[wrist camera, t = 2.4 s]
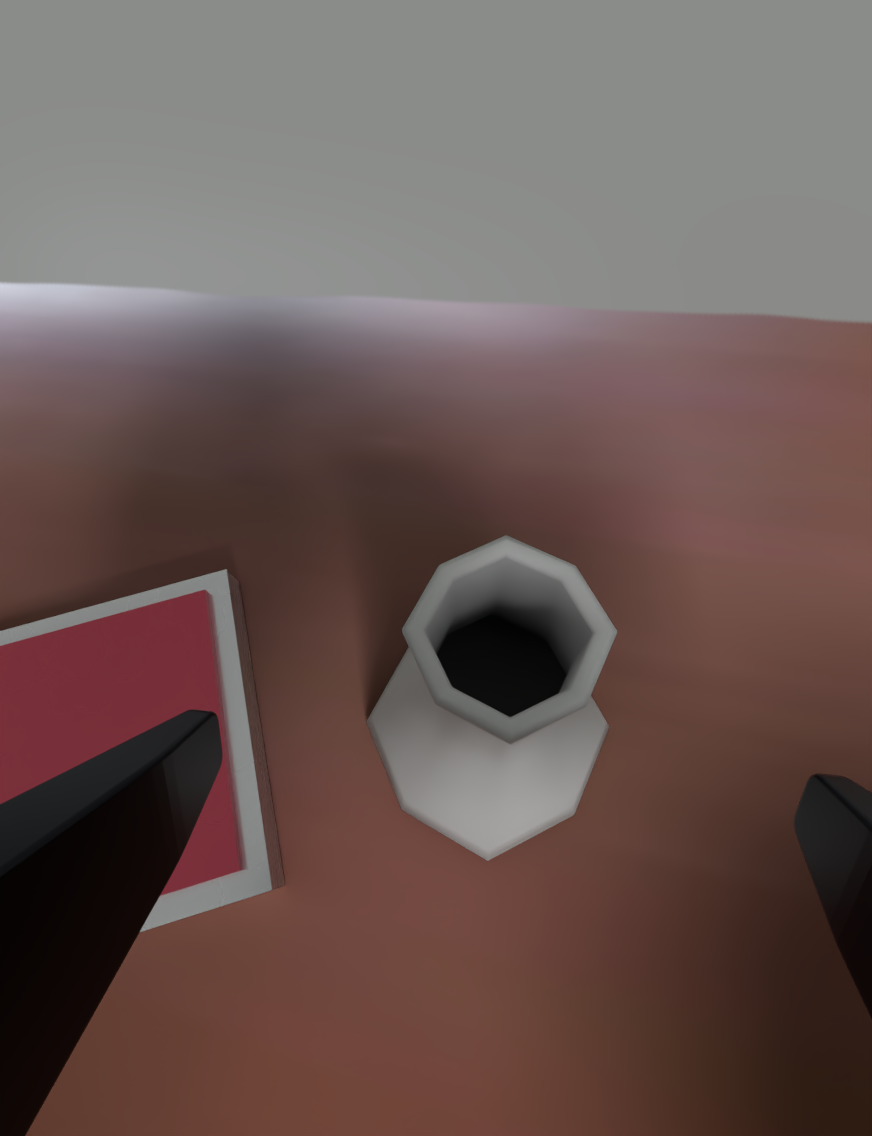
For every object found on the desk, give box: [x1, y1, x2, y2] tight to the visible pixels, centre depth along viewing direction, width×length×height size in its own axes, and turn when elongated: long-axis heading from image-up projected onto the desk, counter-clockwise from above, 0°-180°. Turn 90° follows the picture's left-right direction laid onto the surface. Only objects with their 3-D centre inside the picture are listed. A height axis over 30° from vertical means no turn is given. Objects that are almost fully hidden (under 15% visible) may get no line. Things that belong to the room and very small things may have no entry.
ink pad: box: [0, 569, 285, 932], centre depth 17 cm, size 10×10×2 cm
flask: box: [366, 535, 617, 861], centre depth 13 cm, size 7×7×10 cm
